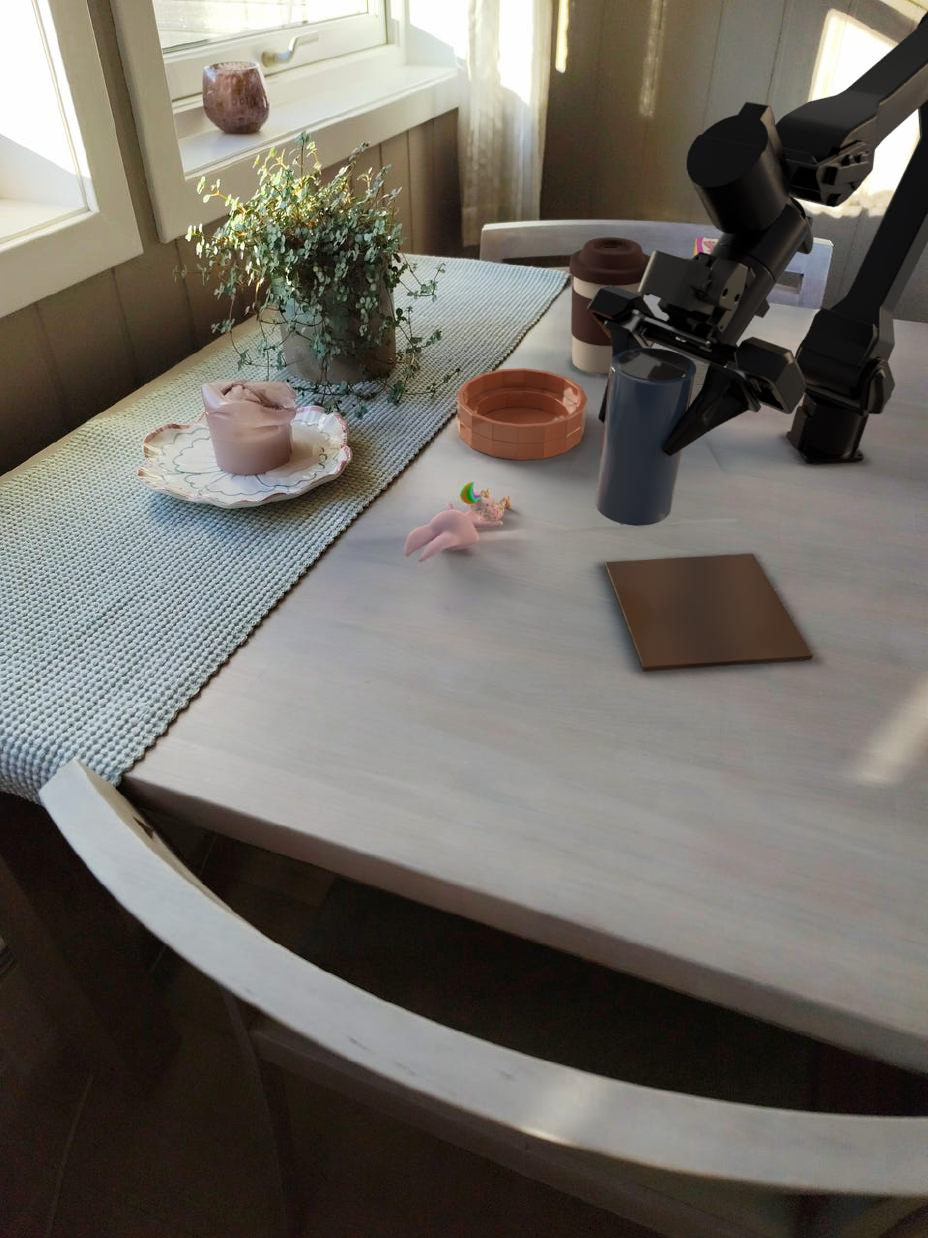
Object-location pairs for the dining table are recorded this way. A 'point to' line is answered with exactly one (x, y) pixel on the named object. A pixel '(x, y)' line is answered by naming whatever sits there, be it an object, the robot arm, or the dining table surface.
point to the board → (704, 612)
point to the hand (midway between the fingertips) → (632, 437)
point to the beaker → (642, 434)
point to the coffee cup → (591, 272)
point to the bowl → (521, 413)
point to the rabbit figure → (457, 524)
